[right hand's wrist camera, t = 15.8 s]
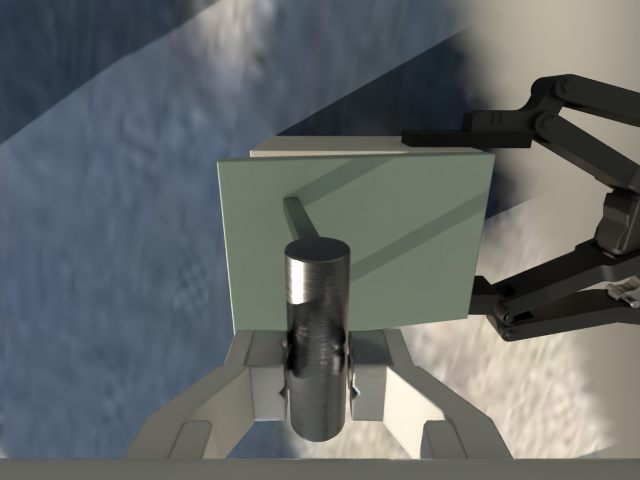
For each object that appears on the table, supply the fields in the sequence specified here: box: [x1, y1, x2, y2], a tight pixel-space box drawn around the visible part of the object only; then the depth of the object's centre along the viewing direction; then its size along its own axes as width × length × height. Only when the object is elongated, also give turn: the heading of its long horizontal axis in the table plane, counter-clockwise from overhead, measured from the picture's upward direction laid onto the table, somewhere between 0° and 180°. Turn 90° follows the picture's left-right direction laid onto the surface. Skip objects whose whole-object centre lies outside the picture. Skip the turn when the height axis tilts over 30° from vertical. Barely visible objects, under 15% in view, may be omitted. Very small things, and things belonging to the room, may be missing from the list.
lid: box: [217, 151, 495, 442], centre depth 15 cm, size 13×9×8 cm
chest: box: [250, 136, 481, 157], centre depth 24 cm, size 12×9×9 cm
